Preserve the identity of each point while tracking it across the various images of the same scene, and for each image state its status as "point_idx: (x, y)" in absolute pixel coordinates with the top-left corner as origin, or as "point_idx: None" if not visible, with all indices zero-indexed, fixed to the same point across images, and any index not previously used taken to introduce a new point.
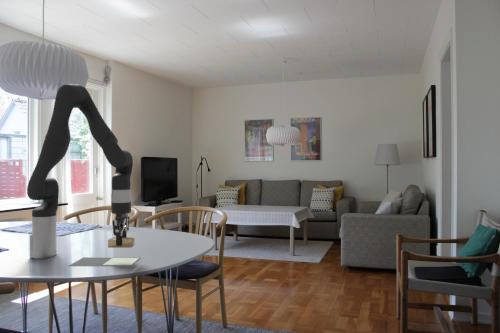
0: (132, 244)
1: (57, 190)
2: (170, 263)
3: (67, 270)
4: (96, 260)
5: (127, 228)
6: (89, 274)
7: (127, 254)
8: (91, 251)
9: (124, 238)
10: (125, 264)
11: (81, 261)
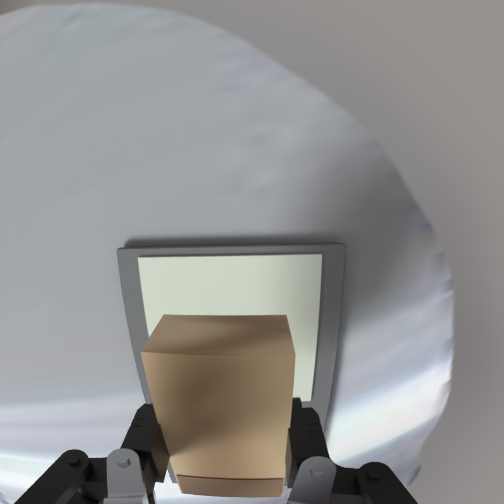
0: (235, 324)
1: None
2: (212, 38)
3: (346, 467)
4: None
5: (83, 476)
6: (421, 385)
7: (46, 347)
8: None
9: (210, 428)
10: (311, 293)
11: None
